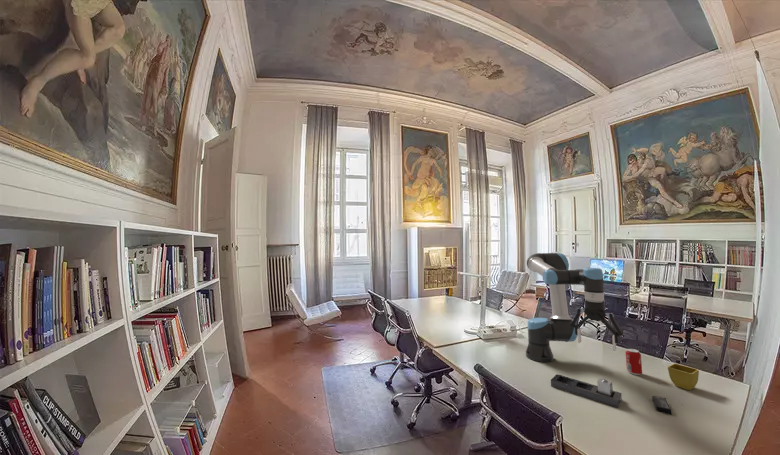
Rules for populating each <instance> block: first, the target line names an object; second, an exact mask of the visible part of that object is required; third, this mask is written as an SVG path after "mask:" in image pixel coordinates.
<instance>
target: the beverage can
mask: <svg viewBox="0 0 780 455" xmlns="http://www.w3.org/2000/svg"><path fill="white" fill-rule="evenodd" d="M625 366H626V371H627V372H628V373H629V374H631V375H634V376H641V375H642V374H643V367H642V366H643V363H642V354H641V353H640V351H639V350H637V349H634V348H627V349H626V350H625Z"/></svg>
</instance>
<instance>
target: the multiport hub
mask: <svg viewBox="0 0 780 455" xmlns="http://www.w3.org/2000/svg"><path fill="white" fill-rule="evenodd" d="M651 399H652V402H653V405H654V407H655V410H656V412H658V413H661V414H666V415H669V416H671V415H672V409H671V406H670V405H669V401H668V400H667V398H666V397H662V396H656V395H651Z"/></svg>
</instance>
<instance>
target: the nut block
mask: <svg viewBox="0 0 780 455" xmlns="http://www.w3.org/2000/svg"><path fill="white" fill-rule="evenodd" d="M596 383H597V386H598V393H599V394H603V395H606V396H609V397H612V398H613V391H614V388H613V381H612V380H609V379H605V378H602V377H599V378H598V380H597V382H596Z"/></svg>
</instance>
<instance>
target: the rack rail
mask: <svg viewBox="0 0 780 455" xmlns="http://www.w3.org/2000/svg"><path fill="white" fill-rule="evenodd" d="M550 387H552V388H556V389H559V390H562V391H564V392H568V393H571V394H574V395H578V396H580V397H584V398H586V399H589V400H593V401H595V402H599V403H602V404H605V405H608V406H611V407H614V408H618V409H619V408H620V405H621V403H622V400H623V397H622V394H623V393H622V392H619V391H616V390H613V398H612V397H609V396H606V395H603V394H599V393H598V385H595V384H592V383H589V382H585V381H581V380H578V379H575V378H571V377H568V376H564V375H562V374H558V373H556V374H555V375H554V376H553V377H552V378H551V379H550Z"/></svg>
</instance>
